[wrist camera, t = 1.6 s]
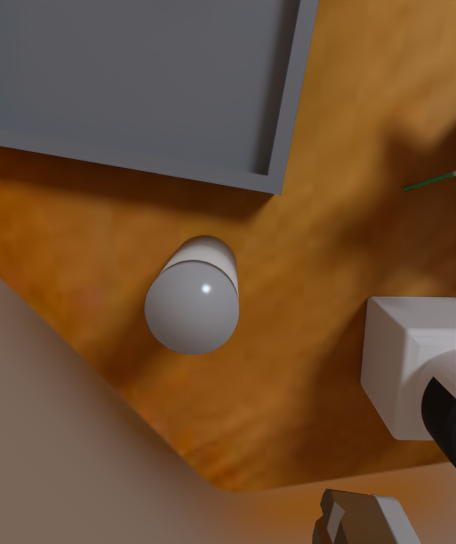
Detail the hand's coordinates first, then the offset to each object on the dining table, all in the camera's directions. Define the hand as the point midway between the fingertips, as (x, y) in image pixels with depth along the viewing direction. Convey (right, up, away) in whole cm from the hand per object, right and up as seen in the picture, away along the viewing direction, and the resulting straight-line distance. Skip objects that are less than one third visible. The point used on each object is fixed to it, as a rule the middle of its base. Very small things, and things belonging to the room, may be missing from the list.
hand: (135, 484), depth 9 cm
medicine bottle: (+16, -1, +23) cm, 27 cm away
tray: (-3, +19, +18) cm, 27 cm away
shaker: (0, +5, +21) cm, 22 cm away
